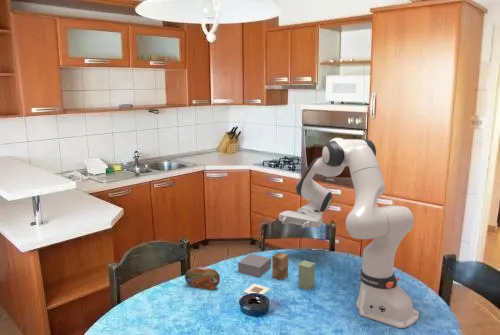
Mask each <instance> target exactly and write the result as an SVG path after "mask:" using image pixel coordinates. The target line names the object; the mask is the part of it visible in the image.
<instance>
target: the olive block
mask: <svg viewBox="0 0 500 335" xmlns="http://www.w3.org/2000/svg"><path fill="white" fill-rule="evenodd" d="M315 270H316V262H312V261H309V260H302V261H301V262H300V263H299V264H298V285H297V286H298V288H300V289H303V290H308V291H310V290H312V289H313V288H314V286H315V280H316V279H315V276H316V274H315V273H316V271H315Z"/></svg>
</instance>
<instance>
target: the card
mask: <svg viewBox="0 0 500 335" xmlns="http://www.w3.org/2000/svg"><path fill="white" fill-rule="evenodd" d="M270 290H271V288H270V287H266V286H263V285H261V284H257V283H252V284H251V285H250V286H248V287H247V288H246V289H245V290H244V291H243V293H244V294H247V295H250V293H259V294H264V295H265V294H266V293H267V292H269V291H270Z"/></svg>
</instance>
